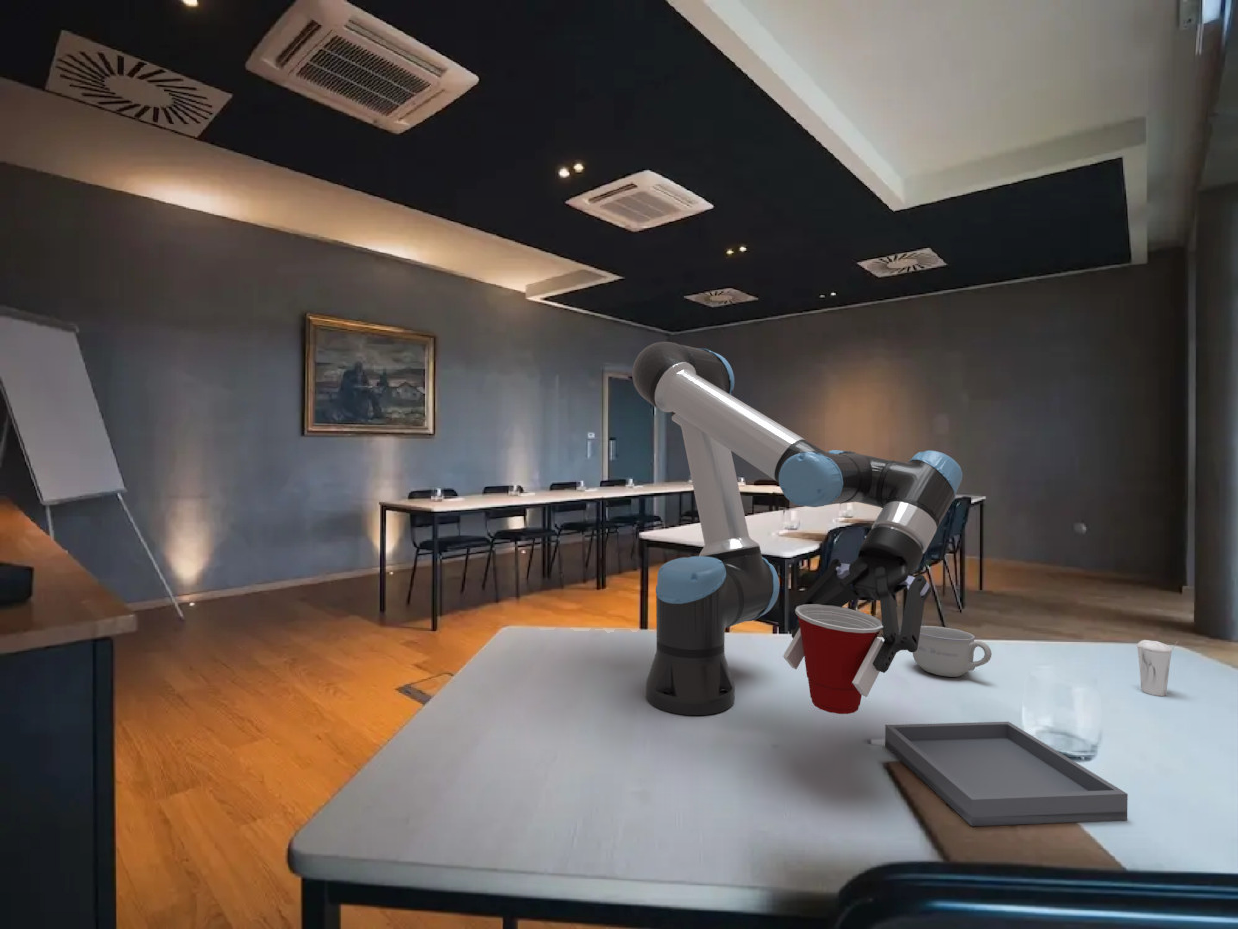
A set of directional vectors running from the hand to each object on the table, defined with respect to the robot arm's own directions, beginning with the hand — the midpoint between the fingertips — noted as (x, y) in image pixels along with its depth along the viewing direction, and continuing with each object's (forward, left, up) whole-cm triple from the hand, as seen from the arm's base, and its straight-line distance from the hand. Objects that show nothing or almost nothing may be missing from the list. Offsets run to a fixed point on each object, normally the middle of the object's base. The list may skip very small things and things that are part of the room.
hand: (822, 675), depth 74 cm
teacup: (+41, +36, -14) cm, 56 cm away
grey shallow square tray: (+23, 0, -14) cm, 26 cm away
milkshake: (+72, +25, -14) cm, 77 cm away
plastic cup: (+3, +2, -5) cm, 6 cm away
